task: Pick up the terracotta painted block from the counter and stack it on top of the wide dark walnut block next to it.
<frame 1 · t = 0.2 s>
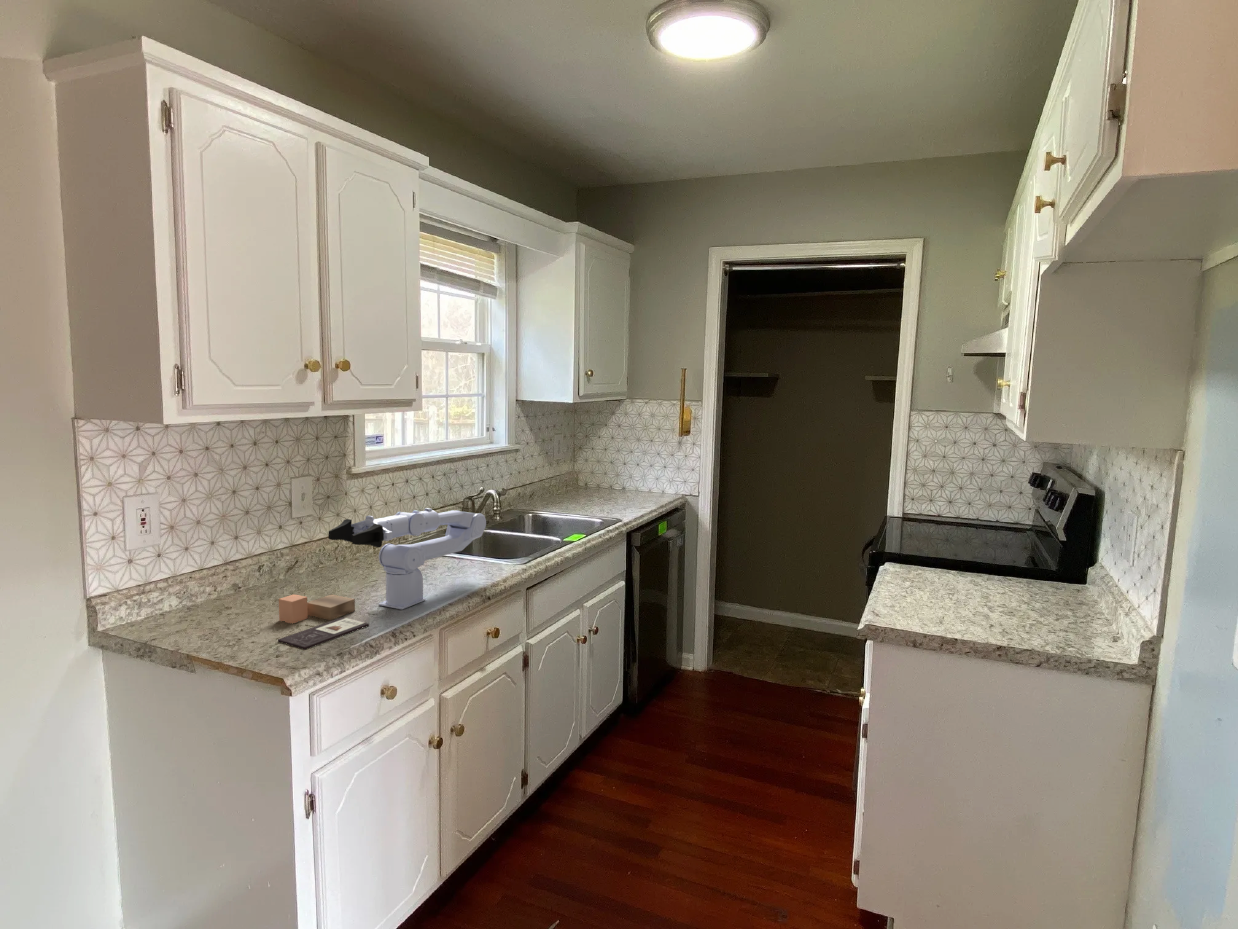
hand: (341, 537, 173), 22 cm above the counter, tool horizontal, fingers open, 7 cm apart
walnut base block: (331, 614, 185), on the counter
terracotta block: (293, 619, 179), on the counter
chocolate bar: (324, 636, 170), on the counter
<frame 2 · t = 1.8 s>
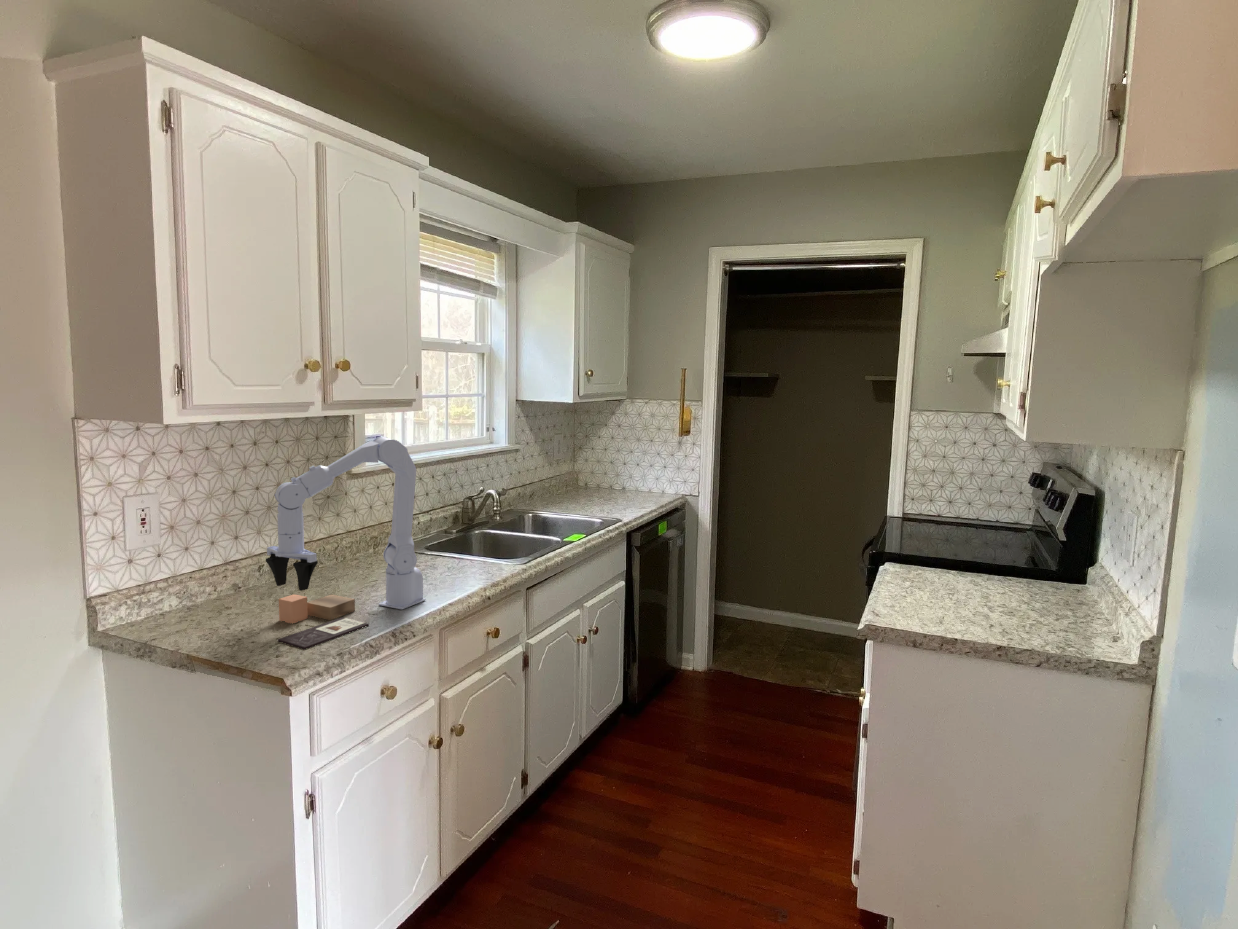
hand: (292, 587, 178), 8 cm above the counter, tool pointing down, fingers open, 7 cm apart
nothing on the counter moved.
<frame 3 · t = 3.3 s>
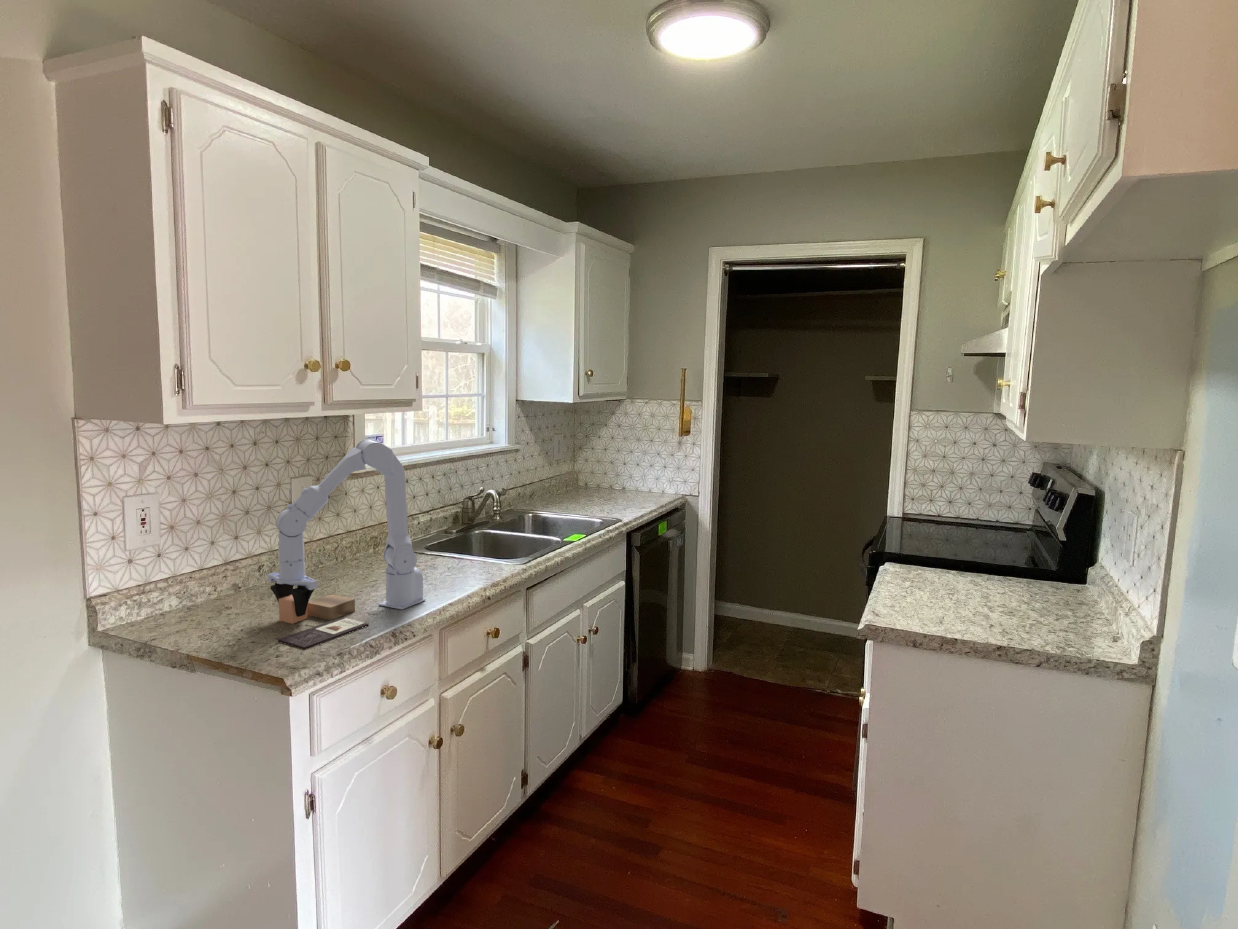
hand: (293, 613, 179), 1 cm above the counter, tool pointing down, fingers closed on terracotta block, 4 cm apart
terracotta block: (293, 619, 179), on the counter, touching gripper
everything else where it was.
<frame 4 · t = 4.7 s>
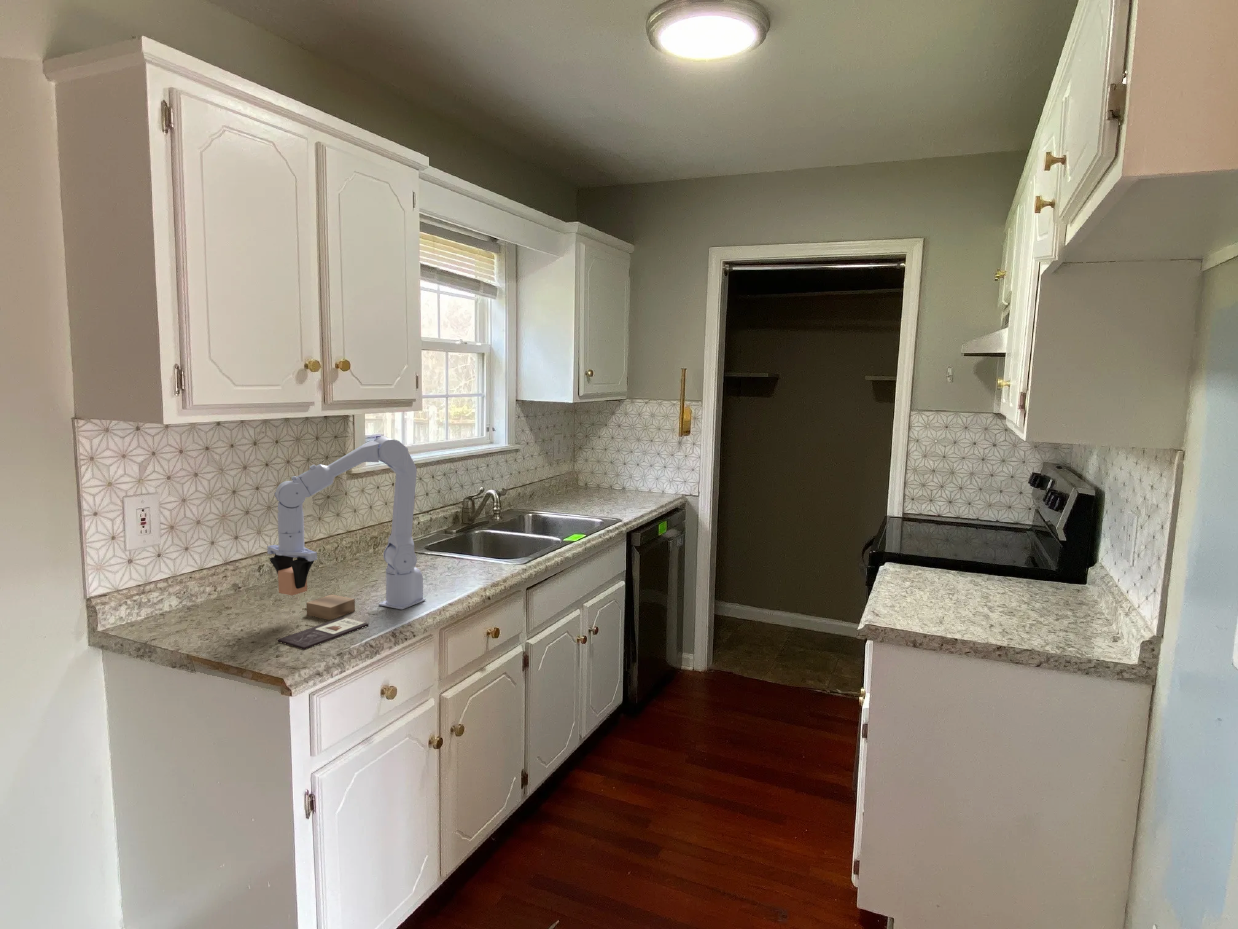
hand: (292, 586, 178), 8 cm above the counter, tool pointing down, fingers closed on terracotta block, 4 cm apart
terracotta block: (293, 591, 178), point 7 cm above the counter, touching gripper
everything else where it was.
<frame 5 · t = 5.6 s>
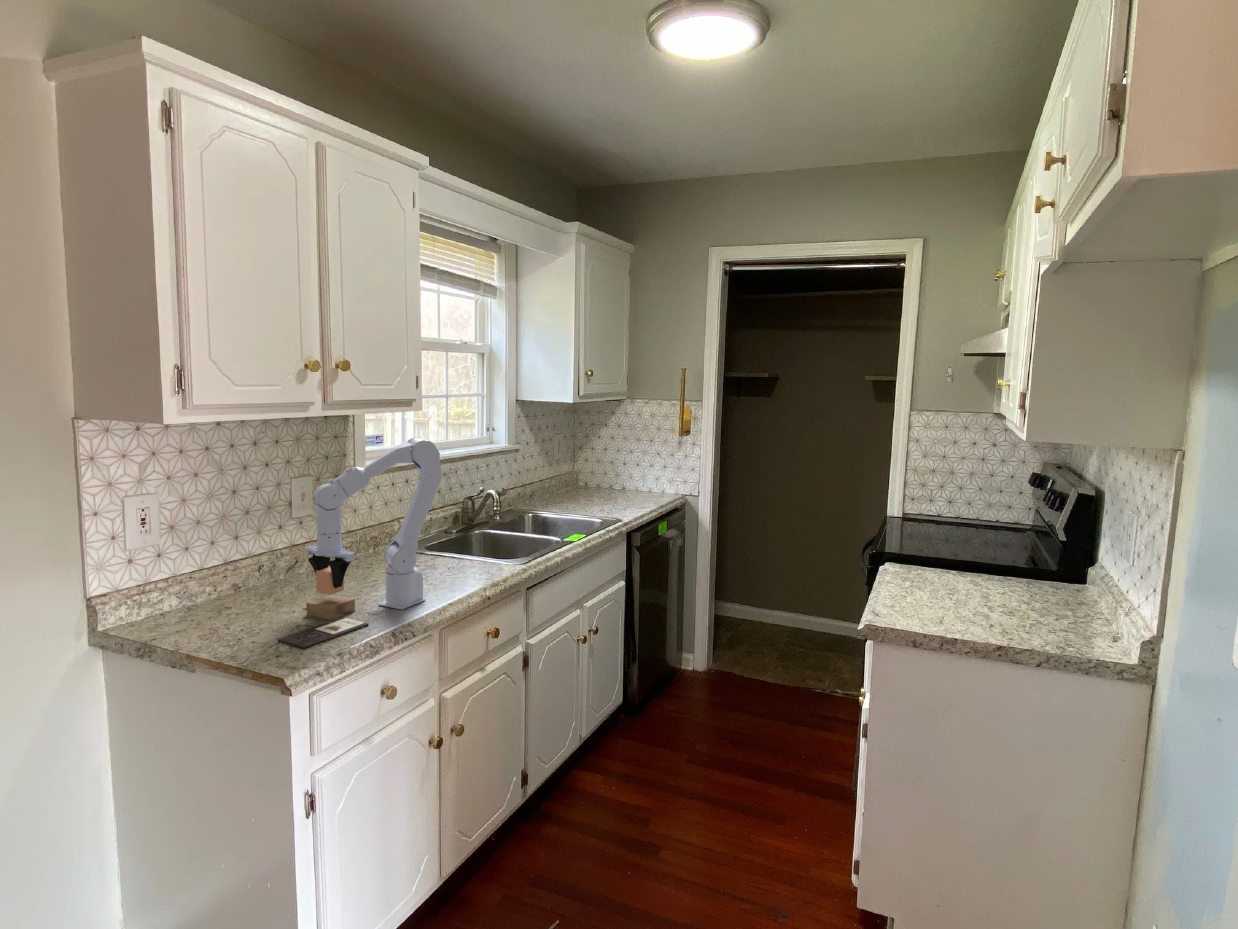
hand: (330, 585, 184), 7 cm above the counter, tool pointing down, fingers closed on terracotta block, 4 cm apart
terracotta block: (330, 591, 184), point 6 cm above the counter, touching gripper
everything else where it was.
when the fingers open (6 cm above the counter, at t = 6.3 s): terracotta block drops 1 cm, point 3 cm above the counter.
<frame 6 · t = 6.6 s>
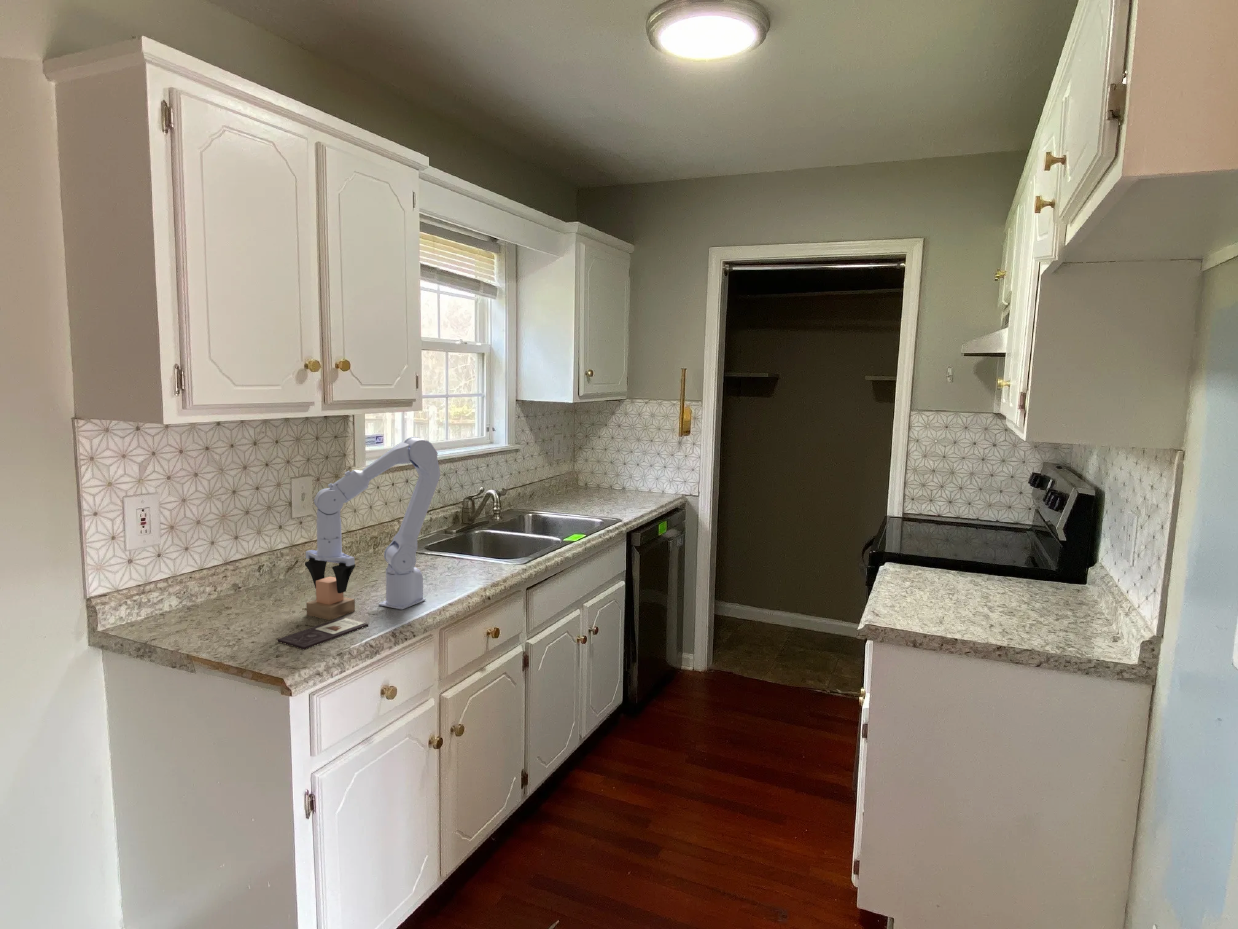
hand: (330, 590, 184), 6 cm above the counter, tool pointing down, fingers open, 7 cm apart
terracotta block: (330, 601, 184), point 3 cm above the counter
everything else where it was.
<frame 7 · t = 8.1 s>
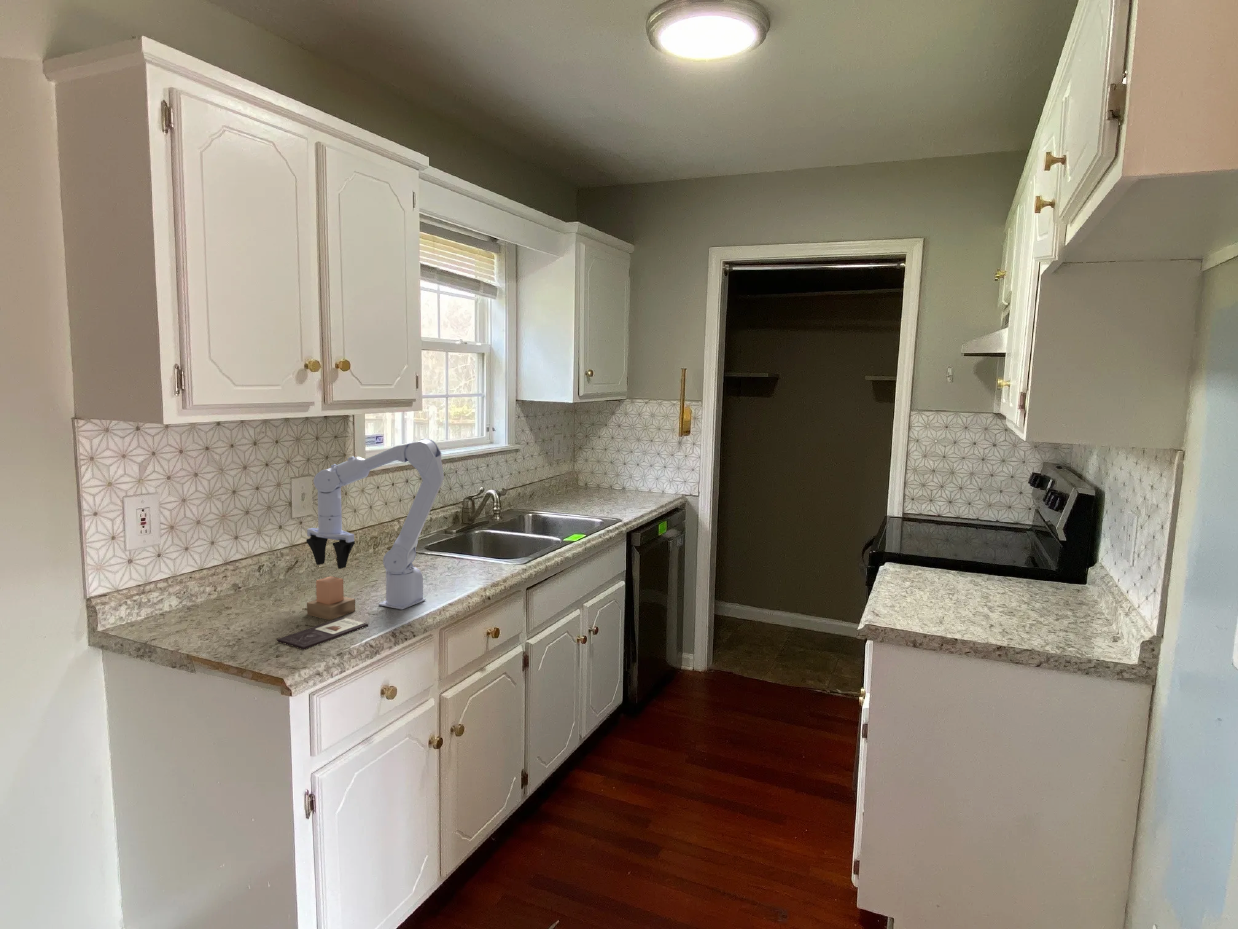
hand: (331, 566, 191), 10 cm above the counter, tool pointing down, fingers open, 7 cm apart
nothing on the counter moved.
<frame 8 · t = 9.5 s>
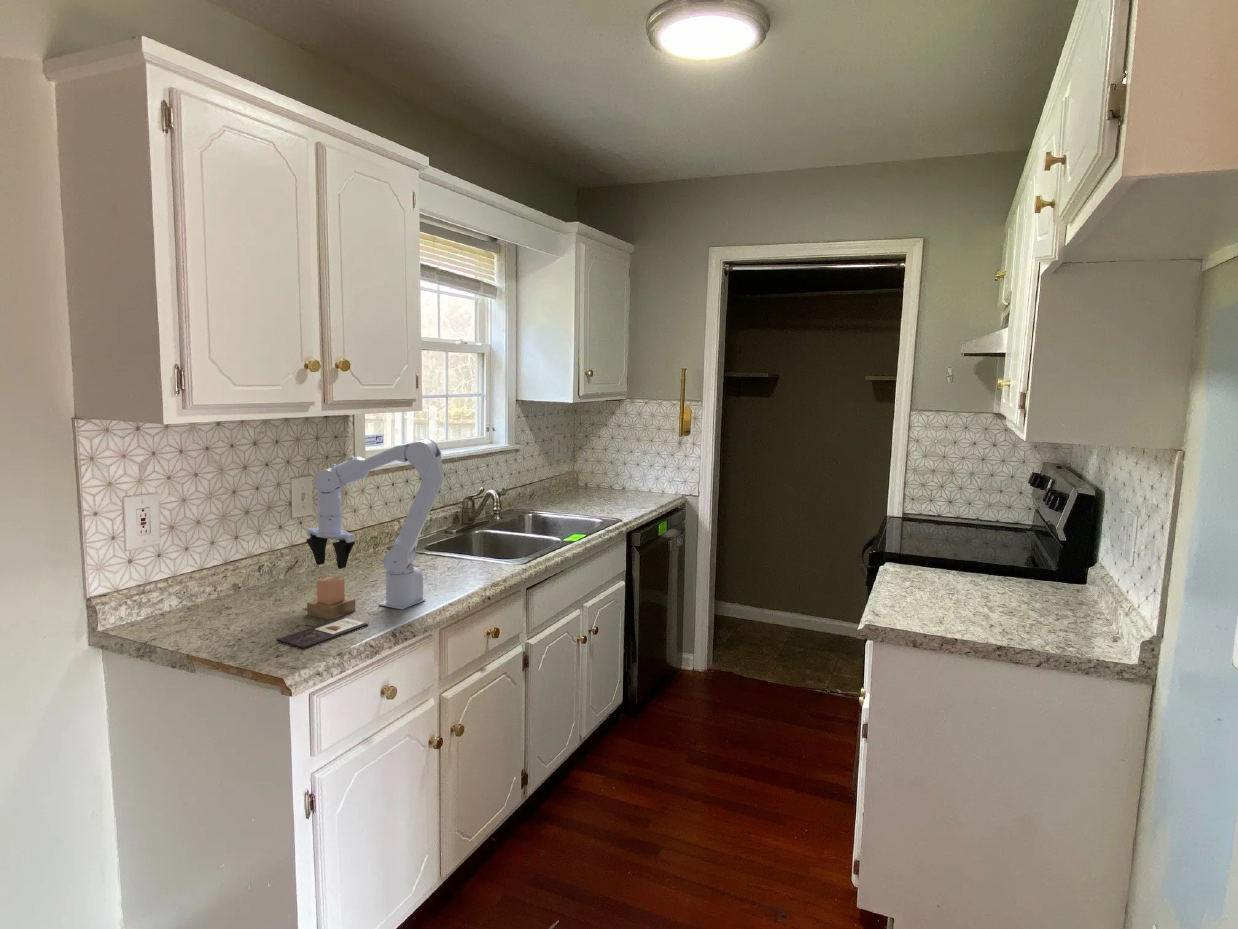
hand: (331, 566, 191), 10 cm above the counter, tool pointing down, fingers open, 7 cm apart
nothing on the counter moved.
at the end: terracotta block 0.2 cm off-centre on the walnut base block, point 3.6 cm above the walnut base block's base; terracotta block tilted 0°; the gripper is holding nothing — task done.
